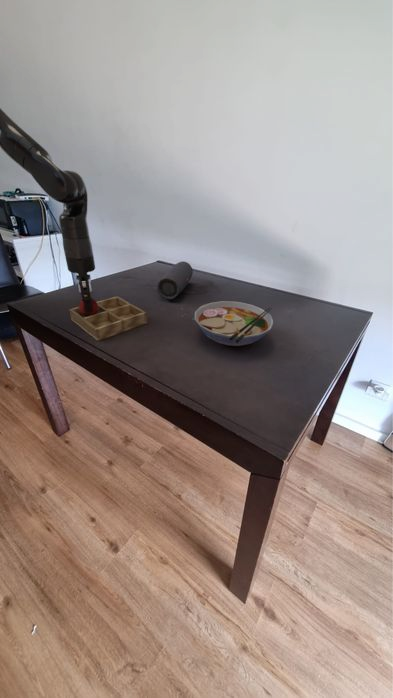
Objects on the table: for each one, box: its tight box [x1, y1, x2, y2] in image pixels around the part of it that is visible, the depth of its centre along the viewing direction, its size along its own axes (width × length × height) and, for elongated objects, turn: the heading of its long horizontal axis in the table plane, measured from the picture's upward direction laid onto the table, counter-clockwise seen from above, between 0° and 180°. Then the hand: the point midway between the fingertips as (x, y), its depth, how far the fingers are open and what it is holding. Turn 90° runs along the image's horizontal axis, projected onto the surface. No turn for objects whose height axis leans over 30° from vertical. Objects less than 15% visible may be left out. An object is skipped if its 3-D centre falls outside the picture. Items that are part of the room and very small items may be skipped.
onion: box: [78, 295, 99, 317], centre depth 89 cm, size 6×6×8 cm
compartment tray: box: [68, 296, 148, 342], centre depth 91 cm, size 17×17×4 cm
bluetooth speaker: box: [156, 261, 194, 300], centre depth 113 cm, size 23×9×10 cm, turn 167°
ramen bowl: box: [194, 300, 274, 347], centre depth 84 cm, size 25×23×8 cm
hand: (88, 306), depth 89 cm, fingers open, 8 cm apart
